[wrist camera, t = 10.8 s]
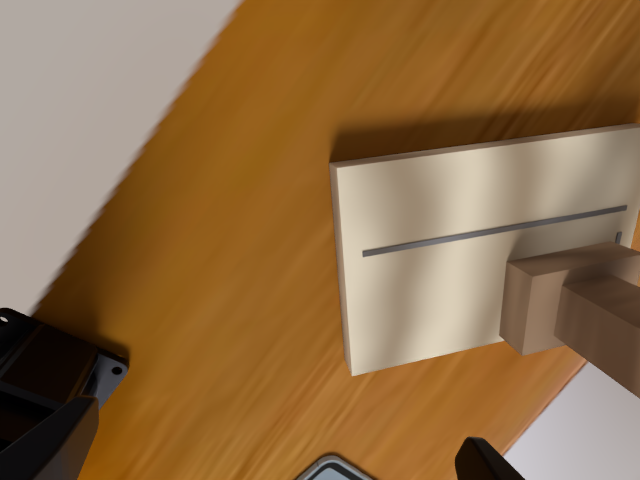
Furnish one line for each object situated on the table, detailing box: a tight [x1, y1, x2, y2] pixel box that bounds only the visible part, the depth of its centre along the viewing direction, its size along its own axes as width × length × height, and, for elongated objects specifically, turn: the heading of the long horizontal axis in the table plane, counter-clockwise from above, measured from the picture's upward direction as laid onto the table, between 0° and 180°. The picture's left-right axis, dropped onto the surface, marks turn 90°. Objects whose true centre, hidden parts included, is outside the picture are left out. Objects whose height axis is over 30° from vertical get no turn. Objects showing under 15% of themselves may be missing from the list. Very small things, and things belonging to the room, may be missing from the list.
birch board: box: [329, 123, 640, 376], centre depth 21 cm, size 18×12×2 cm, turn 95°
